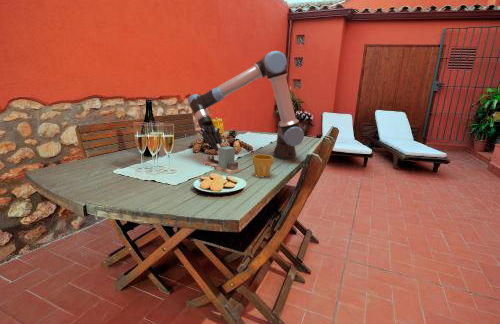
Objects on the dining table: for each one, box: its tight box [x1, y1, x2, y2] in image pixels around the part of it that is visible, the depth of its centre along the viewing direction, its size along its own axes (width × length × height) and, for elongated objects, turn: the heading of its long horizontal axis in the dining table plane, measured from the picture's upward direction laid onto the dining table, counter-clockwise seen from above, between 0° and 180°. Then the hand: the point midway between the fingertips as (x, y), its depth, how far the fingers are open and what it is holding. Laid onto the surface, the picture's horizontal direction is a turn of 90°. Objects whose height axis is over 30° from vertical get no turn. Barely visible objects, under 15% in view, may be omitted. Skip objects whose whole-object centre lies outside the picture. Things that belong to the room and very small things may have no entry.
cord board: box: [202, 155, 242, 175], centre depth 151 cm, size 22×8×5 cm, turn 46°
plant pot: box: [252, 153, 274, 177], centre depth 141 cm, size 10×10×10 cm
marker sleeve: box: [218, 145, 236, 168], centre depth 147 cm, size 5×7×10 cm
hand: (221, 155), depth 149 cm, fingers closed
